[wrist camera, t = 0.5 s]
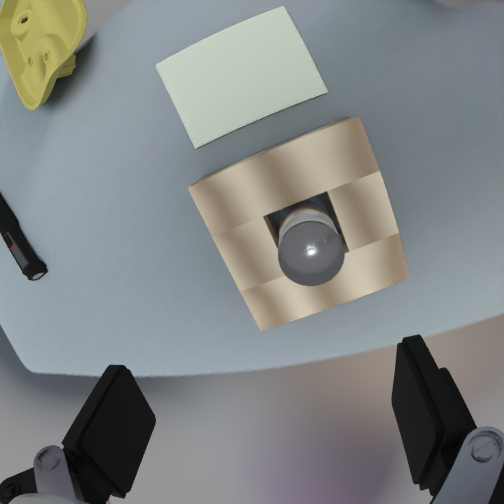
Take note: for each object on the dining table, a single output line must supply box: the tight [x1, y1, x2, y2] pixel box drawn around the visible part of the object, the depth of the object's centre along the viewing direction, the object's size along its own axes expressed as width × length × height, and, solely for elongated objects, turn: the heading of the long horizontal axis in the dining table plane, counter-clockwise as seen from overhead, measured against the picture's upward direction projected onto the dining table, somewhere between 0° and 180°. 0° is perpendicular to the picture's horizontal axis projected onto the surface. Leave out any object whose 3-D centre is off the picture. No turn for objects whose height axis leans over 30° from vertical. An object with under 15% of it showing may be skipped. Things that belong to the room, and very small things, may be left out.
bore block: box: [188, 116, 410, 331], centre depth 31 cm, size 16×16×5 cm
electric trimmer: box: [0, 197, 48, 281], centre depth 36 cm, size 4×16×3 cm, turn 30°
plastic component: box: [0, 0, 87, 110], centre depth 25 cm, size 20×7×10 cm
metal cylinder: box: [278, 196, 345, 286], centre depth 28 cm, size 5×5×10 cm
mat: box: [156, 6, 328, 149], centre depth 28 cm, size 14×10×1 cm
